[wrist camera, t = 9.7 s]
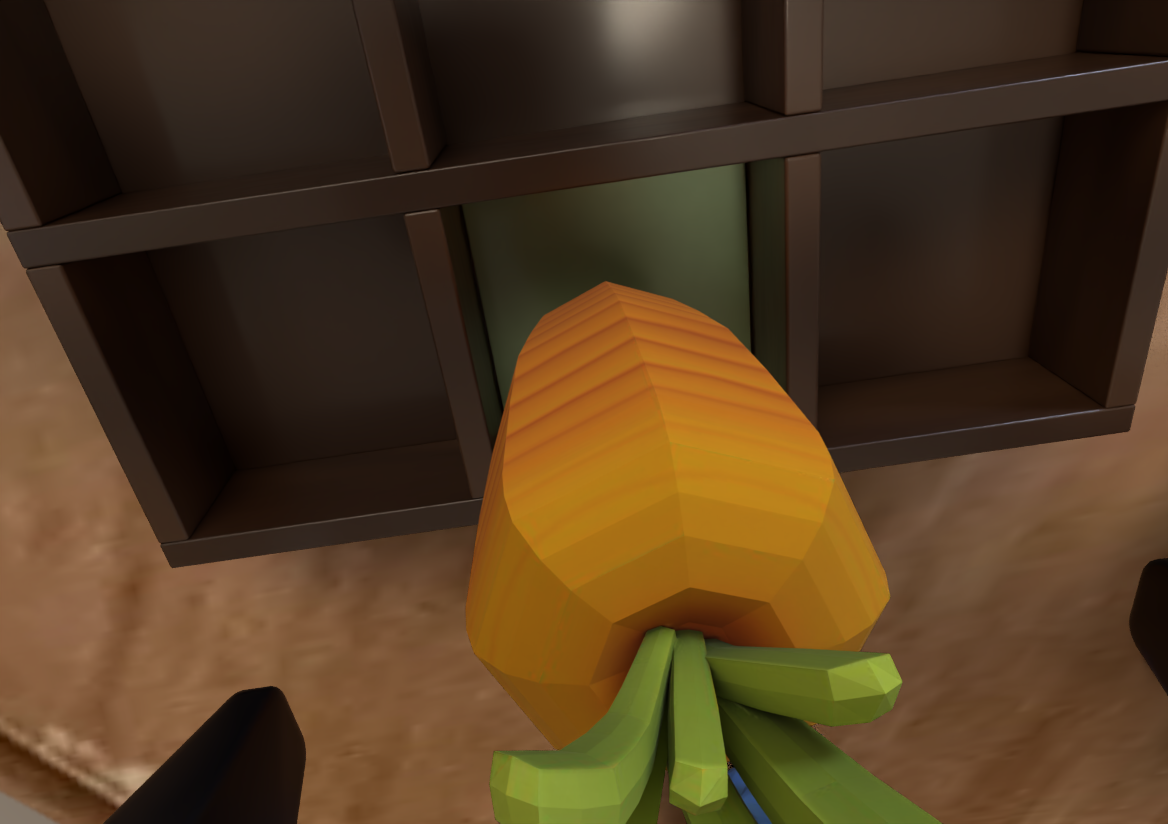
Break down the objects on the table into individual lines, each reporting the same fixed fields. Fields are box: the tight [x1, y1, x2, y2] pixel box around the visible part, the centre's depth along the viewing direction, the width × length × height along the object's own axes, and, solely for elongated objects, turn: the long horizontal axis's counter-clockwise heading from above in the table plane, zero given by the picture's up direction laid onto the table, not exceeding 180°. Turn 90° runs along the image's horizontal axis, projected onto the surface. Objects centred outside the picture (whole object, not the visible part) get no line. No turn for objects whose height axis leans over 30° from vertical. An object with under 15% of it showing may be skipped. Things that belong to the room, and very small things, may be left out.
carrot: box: [466, 281, 942, 824], centre depth 11 cm, size 5×5×15 cm
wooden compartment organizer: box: [0, 0, 1168, 568], centre depth 15 cm, size 15×22×4 cm
